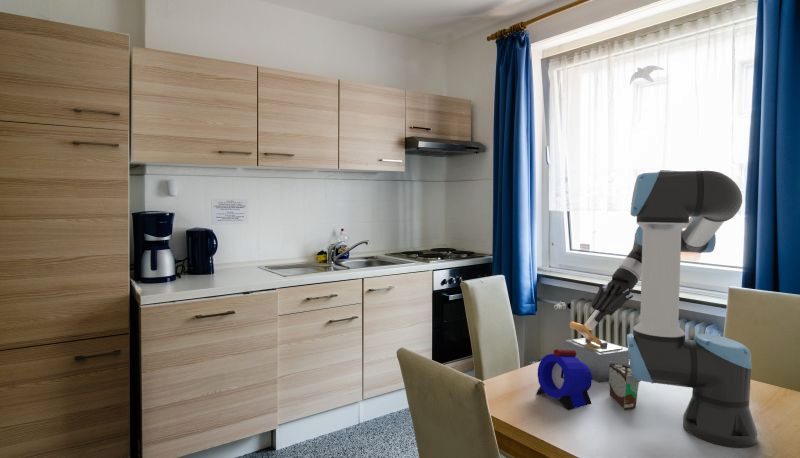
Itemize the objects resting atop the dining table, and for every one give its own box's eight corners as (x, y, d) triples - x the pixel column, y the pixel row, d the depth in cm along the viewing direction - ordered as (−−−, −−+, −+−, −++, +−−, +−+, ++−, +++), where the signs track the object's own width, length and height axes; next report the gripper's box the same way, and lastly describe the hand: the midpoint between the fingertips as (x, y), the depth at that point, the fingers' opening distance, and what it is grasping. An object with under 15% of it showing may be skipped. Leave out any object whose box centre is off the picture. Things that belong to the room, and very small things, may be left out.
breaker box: (592, 361, 167) (593, 331, 166) (628, 377, 152) (629, 344, 151) (564, 365, 163) (565, 335, 162) (598, 382, 148) (599, 348, 147)
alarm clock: (534, 394, 139) (535, 344, 138) (564, 387, 145) (565, 338, 144) (566, 411, 128) (567, 357, 127) (597, 402, 134) (599, 350, 133)
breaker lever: (591, 336, 160) (571, 320, 156) (603, 341, 154) (583, 324, 151) (587, 342, 159) (568, 325, 156) (600, 346, 154) (580, 330, 151)
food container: (649, 412, 127) (650, 376, 127) (626, 412, 127) (627, 376, 127) (628, 394, 140) (629, 360, 139) (607, 393, 140) (608, 360, 139)
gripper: (650, 284, 155) (609, 340, 150) (619, 278, 167) (580, 329, 163) (638, 269, 153) (596, 325, 148) (607, 264, 165) (567, 315, 160)
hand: (587, 327), depth 155 cm, fingers closed
